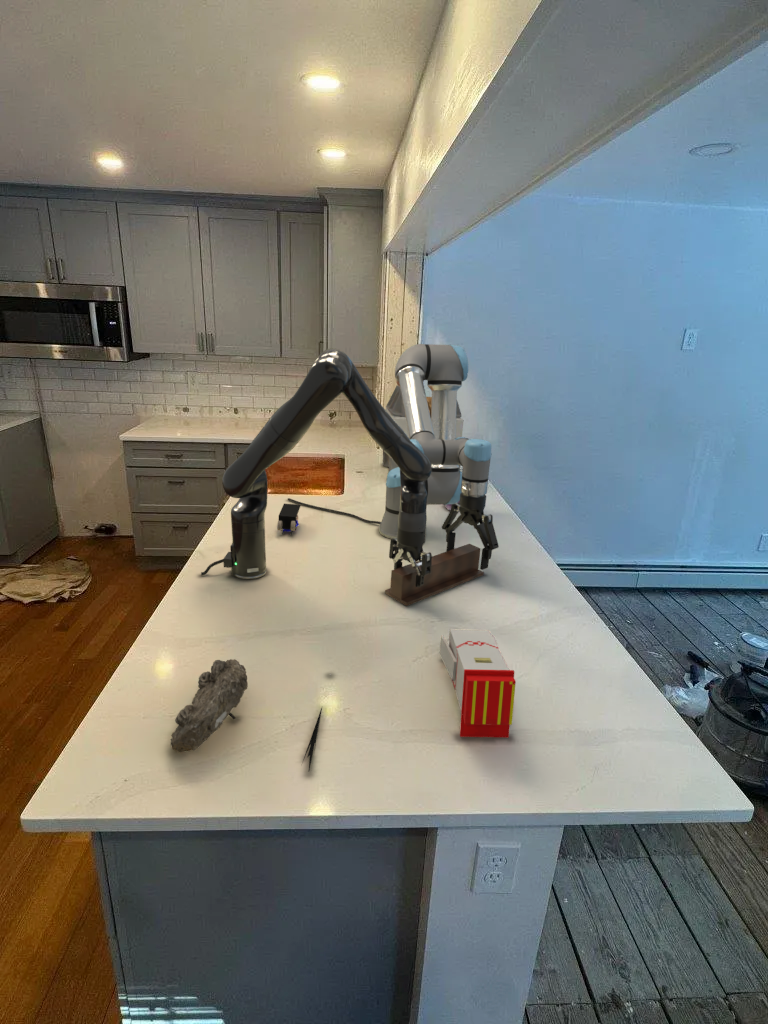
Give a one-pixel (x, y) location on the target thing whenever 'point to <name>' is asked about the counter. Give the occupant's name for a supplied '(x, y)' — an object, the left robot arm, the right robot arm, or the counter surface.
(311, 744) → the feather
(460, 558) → the rail
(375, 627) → the counter surface
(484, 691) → the toy
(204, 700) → the fossil
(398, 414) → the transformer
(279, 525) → the figurine character
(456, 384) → the right robot arm
